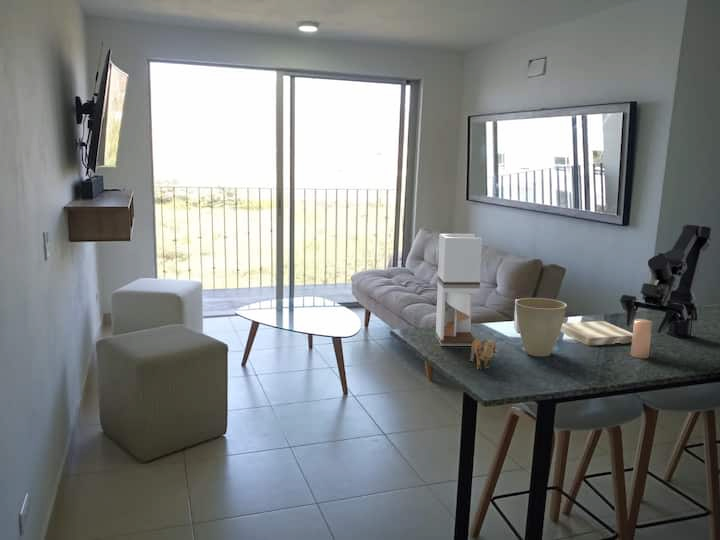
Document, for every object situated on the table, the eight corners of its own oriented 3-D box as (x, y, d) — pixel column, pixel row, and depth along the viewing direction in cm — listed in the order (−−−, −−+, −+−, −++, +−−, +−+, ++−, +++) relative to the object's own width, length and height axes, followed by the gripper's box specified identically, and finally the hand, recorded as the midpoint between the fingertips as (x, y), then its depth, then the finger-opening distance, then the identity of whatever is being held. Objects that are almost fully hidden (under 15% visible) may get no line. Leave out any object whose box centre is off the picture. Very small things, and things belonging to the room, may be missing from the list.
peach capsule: (641, 352, 181) (644, 318, 179) (652, 357, 176) (655, 322, 175) (627, 353, 180) (630, 319, 178) (637, 358, 175) (641, 323, 173)
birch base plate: (602, 327, 209) (603, 321, 208) (636, 342, 192) (636, 335, 191) (557, 330, 205) (558, 323, 205) (587, 345, 188) (588, 338, 187)
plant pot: (561, 348, 185) (565, 299, 182) (564, 363, 171) (568, 310, 168) (512, 343, 189) (515, 296, 186) (512, 358, 175) (515, 306, 172)
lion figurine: (499, 372, 162) (501, 341, 161) (482, 374, 161) (483, 343, 159) (476, 356, 176) (478, 327, 175) (460, 357, 175) (461, 328, 173)
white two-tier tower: (441, 347, 184) (445, 237, 178) (435, 337, 195) (439, 233, 189) (476, 347, 185) (482, 238, 178) (469, 337, 195) (474, 234, 189)
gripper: (625, 269, 185) (606, 308, 179) (688, 278, 171) (670, 320, 166) (633, 290, 191) (615, 328, 186) (695, 300, 178) (677, 341, 172)
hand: (642, 329), depth 177 cm, fingers open, 9 cm apart
